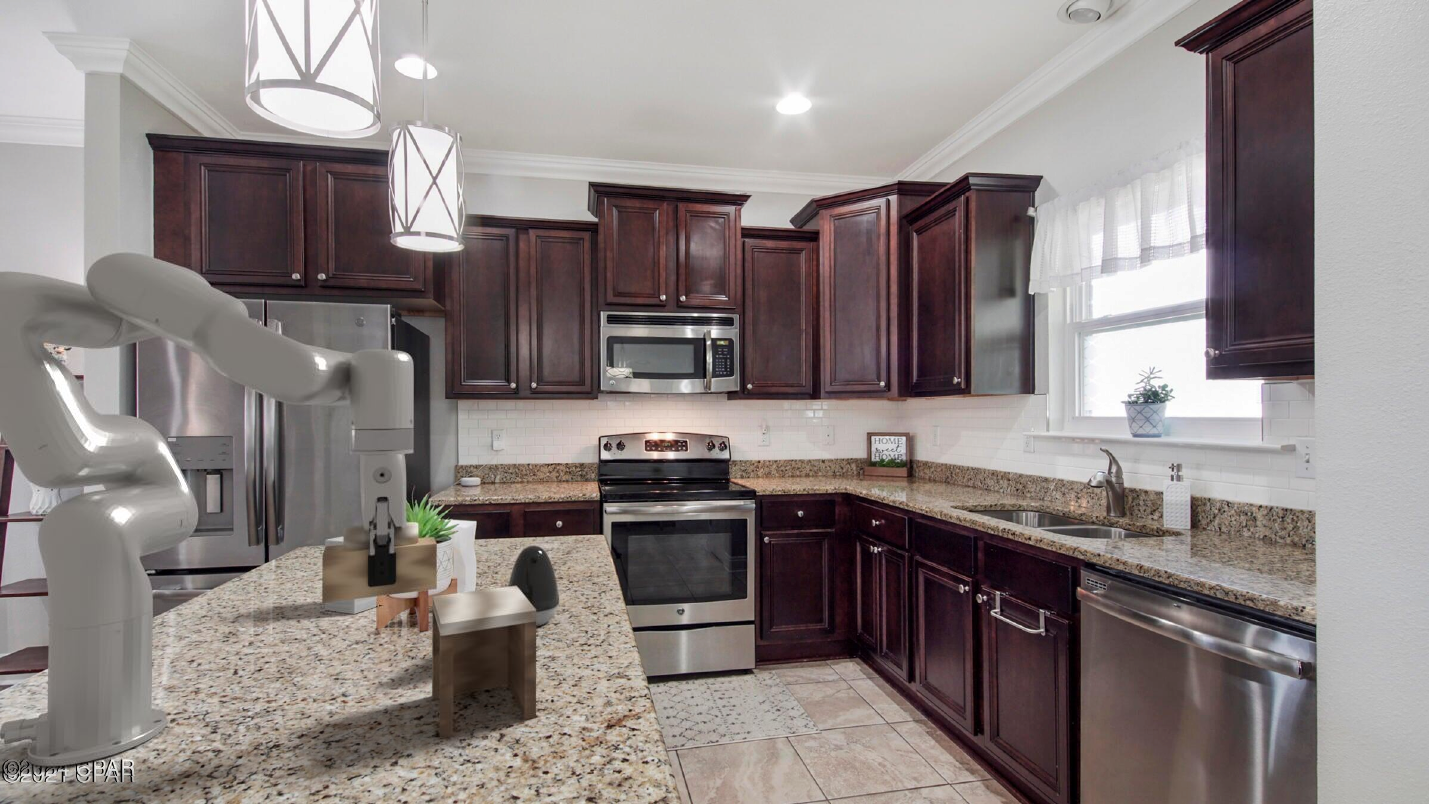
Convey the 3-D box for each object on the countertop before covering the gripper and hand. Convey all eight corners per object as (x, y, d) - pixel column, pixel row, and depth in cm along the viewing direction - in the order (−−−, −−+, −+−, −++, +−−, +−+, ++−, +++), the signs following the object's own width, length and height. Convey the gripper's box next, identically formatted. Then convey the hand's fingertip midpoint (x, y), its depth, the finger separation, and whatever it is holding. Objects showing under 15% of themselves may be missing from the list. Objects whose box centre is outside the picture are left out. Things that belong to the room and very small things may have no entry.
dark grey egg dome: (508, 635, 118) (508, 553, 118) (503, 618, 128) (503, 543, 128) (563, 627, 122) (563, 548, 122) (554, 612, 132) (554, 539, 132)
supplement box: (390, 603, 138) (391, 534, 139) (354, 615, 130) (354, 542, 130) (360, 598, 142) (360, 531, 142) (322, 610, 133) (323, 539, 134)
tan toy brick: (433, 579, 89) (433, 519, 89) (436, 588, 84) (436, 525, 84) (325, 592, 83) (326, 527, 83) (322, 603, 78) (322, 534, 78)
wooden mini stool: (440, 739, 80) (440, 624, 80) (432, 695, 93) (432, 596, 93) (536, 717, 86) (536, 610, 86) (516, 679, 98) (516, 585, 98)
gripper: (416, 444, 78) (416, 591, 78) (410, 440, 93) (410, 563, 93) (346, 446, 75) (346, 600, 74) (352, 441, 90) (351, 569, 89)
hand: (381, 578), depth 84 cm, fingers closed on tan toy brick, 5 cm apart
